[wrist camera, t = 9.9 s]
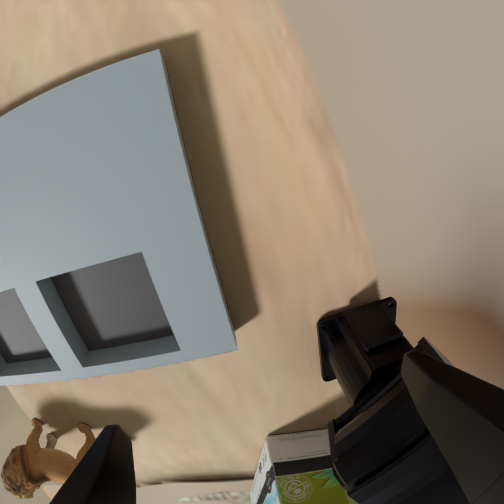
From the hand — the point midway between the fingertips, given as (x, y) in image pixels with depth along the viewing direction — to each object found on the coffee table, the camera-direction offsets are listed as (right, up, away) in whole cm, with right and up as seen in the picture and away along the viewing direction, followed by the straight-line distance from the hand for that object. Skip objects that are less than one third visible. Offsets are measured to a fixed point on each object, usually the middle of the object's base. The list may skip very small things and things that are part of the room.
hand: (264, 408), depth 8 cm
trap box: (-15, +4, +9) cm, 18 cm away
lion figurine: (-19, -14, +16) cm, 29 cm away
